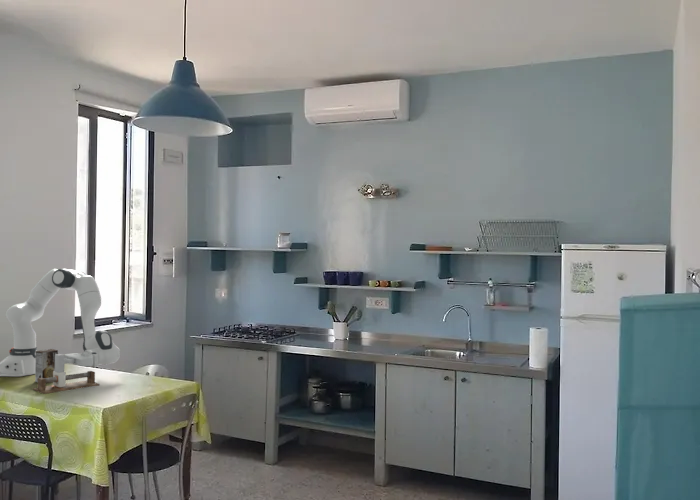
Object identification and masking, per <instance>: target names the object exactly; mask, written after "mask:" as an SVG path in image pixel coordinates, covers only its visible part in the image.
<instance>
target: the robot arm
mask: <svg viewBox="0 0 700 500" xmlns="http://www.w3.org/2000/svg"><path fill="white" fill-rule="evenodd" d="M61 289H63V290H68V291H76V294H77V297H78V302H79V308H80V309H79V310H80V320H81V327H82V334H83V342H82V349H83V352H81V353H80V352H79V353H78V352H77V353H76V352H75V353H73V352H72V353H66V354H63V355H65V360H64V364H73V365H76V366H79V367H85V368H90V367H91V368H96V367H98V366H99V365H101V366H106V365H110V364H115V363H117V362H118V360H119V359H120V357H121V349H120V348H119V347H118V346H117V345H116V344H115V343H114V340H113V337H112V335H111V333H110V332H109V331H107V330H104V329H100V330H97V331H96V325H95V317H96V316H97V313H98V312H99V310H100V308H101V305H102V296H101V293H100V288H99V286H98V283H97V281H96V279H95V278H94V276H91V275H88V274H86V273H85V272H83V271H80V270H76V269H70V268H69V269H67V268H59V269H57V268H52V269H51V270H49V271H47V273H45V274H44V275H43V276H42V277H41V279H39V281H37V283H36V284H35V285H34V287H32V288H31V290H30V291H29V296H28V298H27V300H26V301H24V302H21V303H16V304H13V305H12V306H10V307H8V309H7V310H6V312H5V317H6V320H7V321H8V322H9V324H10V326H11V329H12V334H13V347H11V348H10V349H9V350H8V352H9V355H8V356H7V357H5V358H4V359H2V360H1V361H0V377H23V376H24V377H25V376H31V375H35V362H36V351H38V347H37V332H36V331H35V330H34V327H33V325H32V324H33V323H32V322H34V321H37V320H39V319H40V318H42V317H43V316H44V313H45V309H46V307H47V305H49V302H50V301H51V300H52V299H53V298H54V296H55V295H57V293H58V292H59V291H60V290H61Z"/></svg>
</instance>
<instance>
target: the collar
mask: <svg viewBox="0 0 700 500" xmlns="http://www.w3.org/2000/svg"><path fill="white" fill-rule="evenodd" d="M64 360H65V355H64V354H63V353H58V354H55V371H53V377H55V376H58V382H52V385H54V386H57V387H65V384H66V381H67V380H66V375H67V374H66V371H65V363H64Z"/></svg>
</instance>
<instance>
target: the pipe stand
mask: <svg viewBox="0 0 700 500" xmlns="http://www.w3.org/2000/svg"><path fill="white" fill-rule="evenodd" d="M85 378H87V379H85ZM75 379H76V380H78V379H85V380H80V381H74V382H67V383H66V384H65V387H57V386H54V385H53V384H52V385H47V386H46V384H49V383H53V382H58V376H55V377H51V378H38V382H37V387H35V388H32V390H33V391H34V390H35V391H34V392H37V393H40V394H42V393H43V395H46V394H52V393H58V392H60V393H61V392H65V391H72V390H77V389H84V388H91V387H97V386H100V383H99V382H96V381H95V380H96V372H95V371H92V370H89V371H87V372H80V373H73V374H68V375H67V374H66V381H70V380H75Z"/></svg>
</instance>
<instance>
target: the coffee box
mask: <svg viewBox="0 0 700 500" xmlns="http://www.w3.org/2000/svg"><path fill="white" fill-rule="evenodd" d="M58 352H59V351H58V349H54V348H49V349H41V350H37V351H36V362H35V374H34V377H35V379H34V380H35V381H34V382H35V383H38V378H51V377H53V371H55V354H59V353H58Z"/></svg>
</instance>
